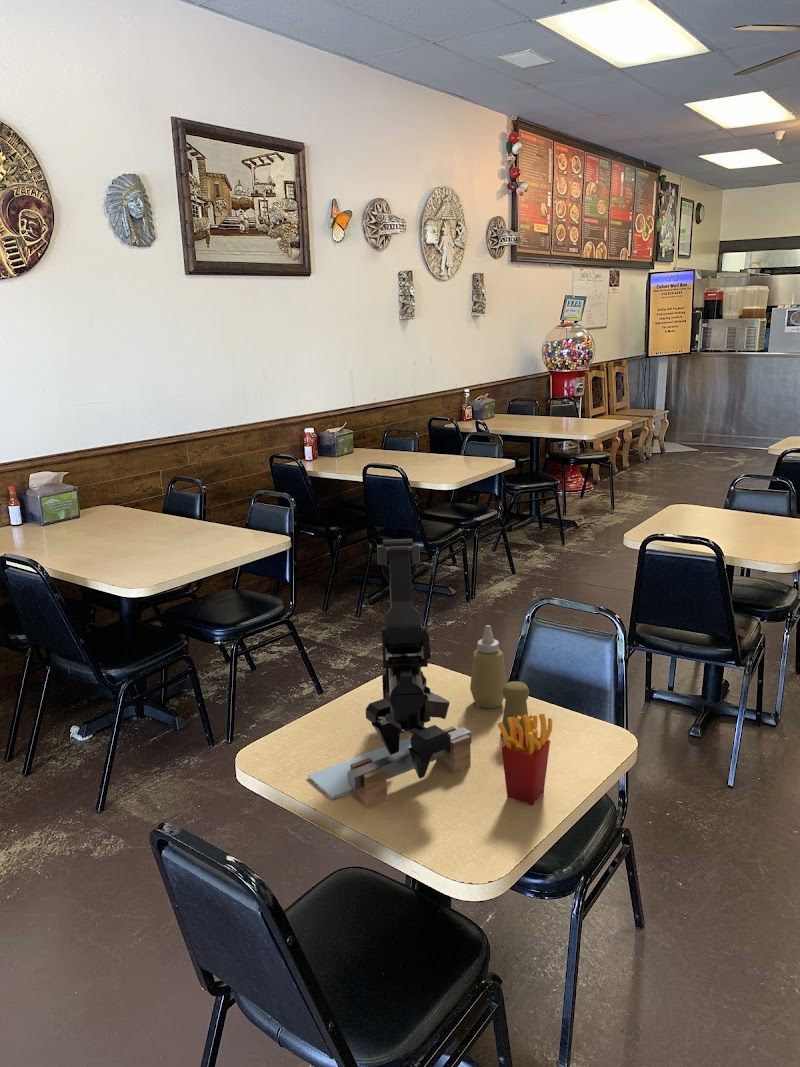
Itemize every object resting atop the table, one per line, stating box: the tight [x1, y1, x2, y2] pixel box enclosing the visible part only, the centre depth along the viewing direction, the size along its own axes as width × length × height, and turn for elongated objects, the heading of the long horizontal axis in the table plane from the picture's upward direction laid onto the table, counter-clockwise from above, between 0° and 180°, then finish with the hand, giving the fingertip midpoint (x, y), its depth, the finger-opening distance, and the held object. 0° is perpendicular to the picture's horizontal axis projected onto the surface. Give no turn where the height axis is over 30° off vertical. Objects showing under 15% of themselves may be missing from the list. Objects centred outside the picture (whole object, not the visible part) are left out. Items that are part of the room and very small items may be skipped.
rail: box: [347, 727, 472, 790], centre depth 145 cm, size 26×2×2 cm, turn 125°
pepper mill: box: [500, 680, 530, 738], centre depth 160 cm, size 6×6×11 cm
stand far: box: [435, 725, 472, 773], centre depth 151 cm, size 5×4×6 cm
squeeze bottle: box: [469, 624, 507, 709], centre depth 173 cm, size 8×8×18 cm
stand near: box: [350, 758, 388, 810], centre depth 140 cm, size 5×4×6 cm
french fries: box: [497, 713, 553, 806], centre depth 140 cm, size 9×8×15 cm
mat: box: [307, 735, 436, 801], centre depth 153 cm, size 9×30×1 cm, turn 125°
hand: (408, 767), depth 145 cm, fingers open, 8 cm apart
